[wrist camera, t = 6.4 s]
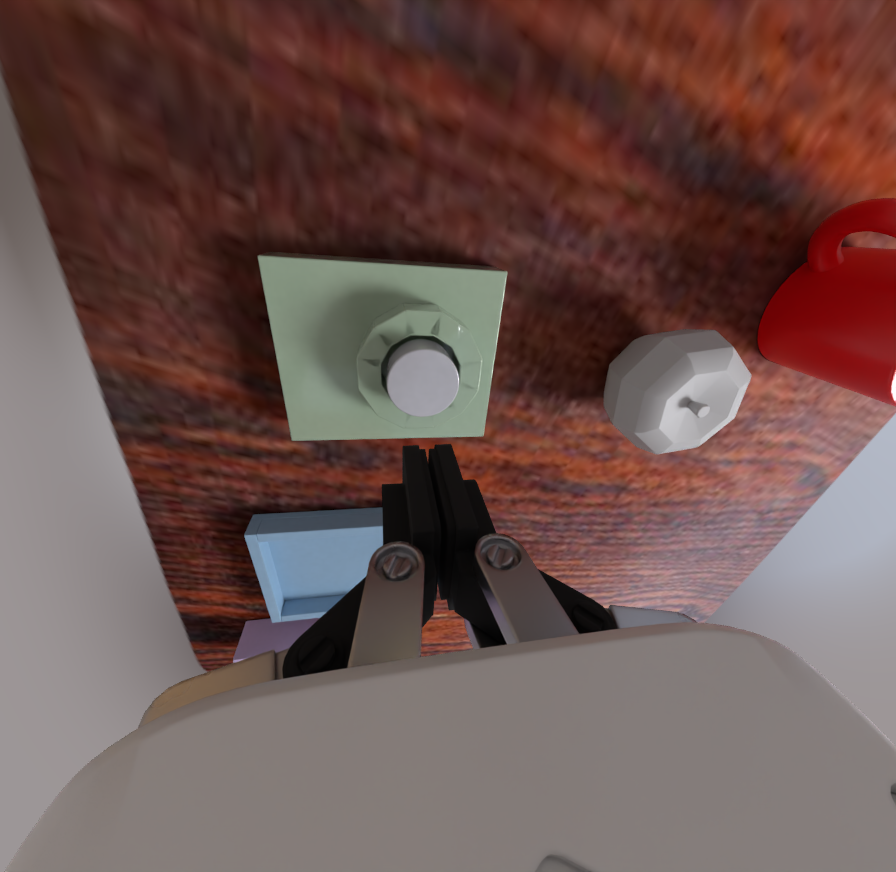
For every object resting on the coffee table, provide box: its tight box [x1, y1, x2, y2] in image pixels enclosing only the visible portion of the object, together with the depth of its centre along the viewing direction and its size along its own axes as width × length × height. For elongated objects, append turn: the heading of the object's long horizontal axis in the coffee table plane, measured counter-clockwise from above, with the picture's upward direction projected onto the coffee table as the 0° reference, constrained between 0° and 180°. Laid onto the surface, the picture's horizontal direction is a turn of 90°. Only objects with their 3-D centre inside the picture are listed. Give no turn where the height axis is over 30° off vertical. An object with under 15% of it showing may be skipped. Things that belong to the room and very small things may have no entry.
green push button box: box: [258, 252, 507, 441], centre depth 20 cm, size 12×10×4 cm
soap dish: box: [244, 507, 383, 623], centre depth 29 cm, size 13×11×2 cm
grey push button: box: [386, 339, 459, 417], centre depth 18 cm, size 4×4×2 cm
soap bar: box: [233, 618, 320, 663], centre depth 33 cm, size 7×4×4 cm, turn 86°
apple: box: [604, 329, 751, 454], centre depth 22 cm, size 8×8×7 cm
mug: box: [757, 198, 896, 406], centre depth 20 cm, size 8×12×8 cm, turn 43°
